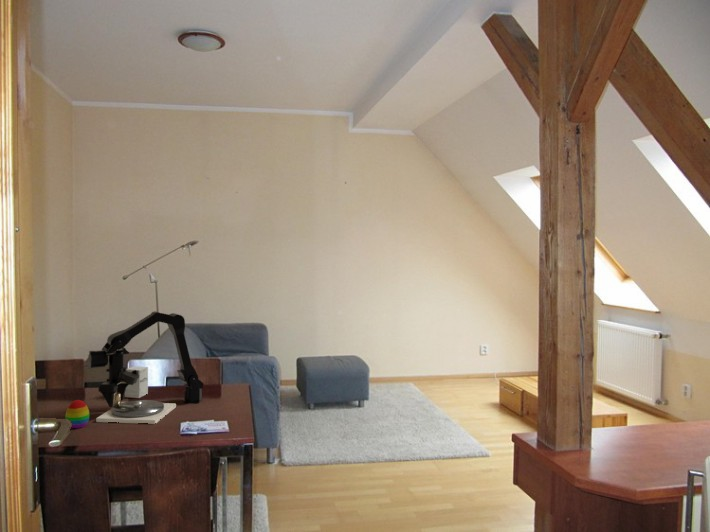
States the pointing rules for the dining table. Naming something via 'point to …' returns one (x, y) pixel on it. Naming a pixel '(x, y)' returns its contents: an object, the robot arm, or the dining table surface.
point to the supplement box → (138, 383)
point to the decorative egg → (77, 414)
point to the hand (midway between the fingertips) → (116, 403)
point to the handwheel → (135, 407)
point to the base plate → (145, 419)
